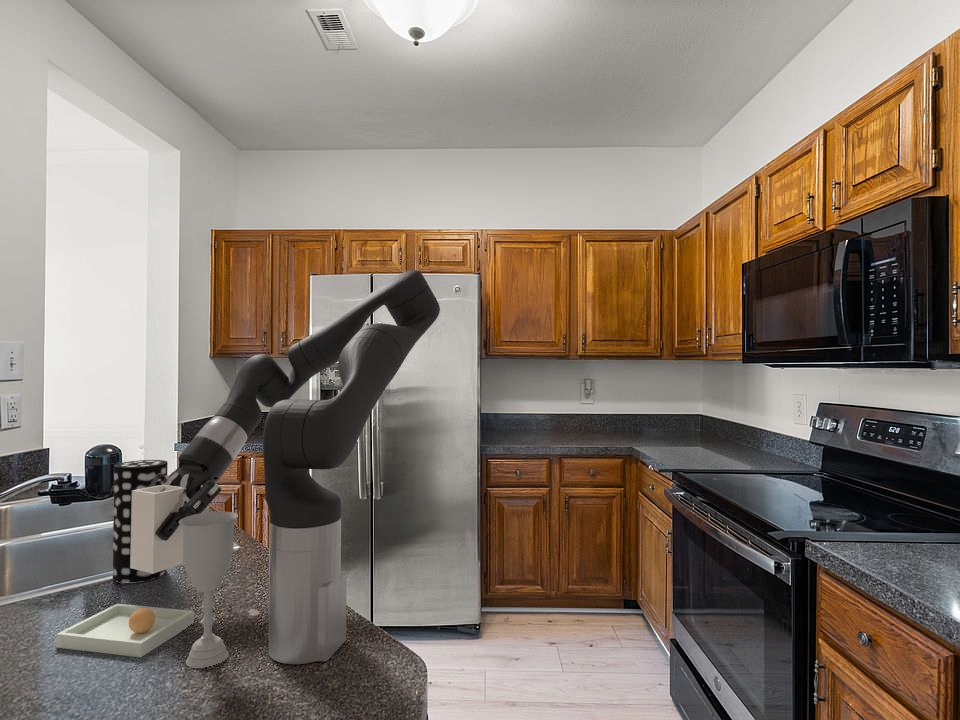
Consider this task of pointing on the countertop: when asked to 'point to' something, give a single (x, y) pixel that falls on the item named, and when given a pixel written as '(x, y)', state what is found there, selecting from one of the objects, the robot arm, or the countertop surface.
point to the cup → (154, 529)
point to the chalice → (207, 574)
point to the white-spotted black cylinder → (124, 482)
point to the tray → (123, 631)
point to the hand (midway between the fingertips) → (147, 534)
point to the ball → (141, 620)
